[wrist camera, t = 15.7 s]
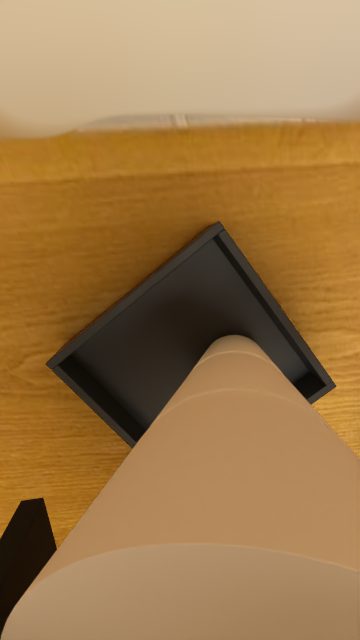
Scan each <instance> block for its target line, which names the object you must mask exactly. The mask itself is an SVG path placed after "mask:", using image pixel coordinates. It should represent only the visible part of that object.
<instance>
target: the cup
mask: <svg viewBox="0 0 360 640" xmlns="http://www.w3.org/2000/svg"><path fill="white" fill-rule="evenodd" d="M1 640H360V459H359V458H358V456H357V455H356V454H355V453H354V452H353V451H352V450H351V449H350V447H349V446H348V445H347V444H346V443H345V442H344V441H343V440H342V439H341V438H340V437H339V436H338V435H337V433H336V432H335V431H334V430H333V429H332V428H331V427H330V426H329V424H328V423H327V422H326V421H325V420H324V419H323V418H322V417H321V416H320V414H319V413H318V412H317V411H316V410H315V409H314V408H313V407H312V406H311V405H310V403H309V402H308V401H307V400H306V399H305V398H304V397H303V396H302V395H301V393H300V392H299V391H298V390H297V389H296V388H295V387H294V386H293V385H292V383H291V382H290V381H289V380H288V379H287V378H286V377H285V376H284V375H283V373H282V372H281V371H280V370H279V368H278V367H277V366H276V365H275V364H274V363H273V362H272V360H271V359H270V358H269V357H268V356H267V355H266V354H265V352H264V351H263V350H262V349H261V348H260V347H259V346H258V345H257V344H256V343H255V342H254V341H253V340H251V339H249V338H247V337H244V336H240V335H228V336H224V337H221V338H219V339H217V340H216V341H215V342H213V343H212V344H211V345H210V347H209V348H208V349H207V351H206V352H205V353H204V355H203V356H202V357H201V359H200V360H199V361H198V363H197V364H196V365H195V367H194V368H193V370H192V371H191V372H190V374H189V376H188V377H187V378H186V379H185V381H184V382H183V383H182V385H181V386H180V387H179V389H178V390H177V391H176V393H175V394H174V395H173V397H172V398H171V399H170V400H169V402H168V403H167V404H166V406H165V407H164V408H163V410H162V411H161V412H160V414H159V415H158V416H157V418H156V419H155V420H154V422H153V423H152V424H151V426H150V427H149V429H148V430H147V431H146V432H145V433H144V435H143V436H142V437H141V438H140V440H139V441H138V442H137V444H136V445H135V446H134V448H133V449H132V450H131V452H130V453H129V454H128V456H127V457H126V458H125V460H124V461H123V462H122V464H121V465H120V466H119V468H118V469H117V470H116V472H115V473H114V474H113V476H112V477H111V478H110V480H109V481H108V482H107V484H106V485H105V486H104V488H103V489H102V490H101V492H100V493H99V494H98V496H97V497H96V498H95V500H94V501H93V502H92V504H91V505H90V506H89V508H88V509H87V510H86V512H85V513H84V514H83V516H82V517H81V518H80V520H79V521H78V522H77V524H76V525H75V526H74V528H73V529H72V530H71V532H70V533H69V534H68V536H67V537H66V538H65V540H64V541H63V542H62V544H61V545H60V546H59V548H58V549H57V550H56V552H55V553H54V554H53V556H52V557H51V558H50V560H49V561H48V562H47V564H46V565H45V566H44V568H43V569H42V570H41V572H40V573H39V574H38V576H37V577H36V578H35V580H34V581H33V582H32V584H31V585H30V586H29V588H28V589H27V590H26V592H25V593H24V594H23V596H22V597H21V599H20V600H19V601H18V603H17V604H16V605H15V607H14V609H13V610H12V612H11V614H10V615H9V617H8V619H7V621H6V623H5V626H4V629H3V632H2V634H1Z"/></svg>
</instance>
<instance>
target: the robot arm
mask: <svg viewBox="0 0 360 640" xmlns="http://www.w3.org/2000/svg"><path fill="white" fill-rule="evenodd" d="M56 550H57V547H56V544H55V540H54V536H53V532H52V529H51V525H50V521H49V517H48V514H47V510H46V506H45V503H44V499H43V498H38V499H31V500H24V501H21V502H20V504H19V506H18V508H17V510H16V511H15V513H14V515H13V517H12V519H11V521H10V522H9V524H8V526H7V528H6V530H5V531H4V533H3V535H2V537H1V539H0V640H1V634H2V632H3V629H4V626H5V623H6V621H7V619H8V617H9V615H10V614H11V612H12V610H13V609H14V607H15V605H16V604H17V603H18V601H19V600H20V599H21V597H22V596H23V594H24V593H25V592H26V590H27V589H28V588H29V586H30V585H31V584H32V582H33V581H34V580H35V578H36V577H37V576H38V574H39V573H40V572H41V570H42V569H43V568H44V566H45V565H46V564H47V562H48V561H49V560H50V558H51V557H52V556H53V554H54V553H55V552H56Z"/></svg>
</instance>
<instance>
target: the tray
mask: <svg viewBox="0 0 360 640" xmlns="http://www.w3.org/2000/svg"><path fill="white" fill-rule="evenodd" d="M228 335H240V336H244V337H247V338H249V339H251V340H253V341H254V342H255V343H256V344H257V345H258V346H259V347H260V348H261V349H262V350H263V351H264V352H265V354H266V355H267V356H268V357H269V358H270V359H271V360H272V362H273V363H274V364H275V365H276V366H277V367H278V368H279V370H280V371H281V372H282V373H283V375H284V376H285V377H286V378H287V379H288V380H289V381H290V382H291V383H292V385H293V386H294V387H295V388H296V389H297V390H298V391H299V392H300V393H301V395H302V396H303V397H304V398H305V399H306V400H307V401H308V402H309V403H310V405H311V404H312V403H314V402H315V401H317V400H318V399H319V398H321V397H322V396H324V395H325V394H327V393H328V392H329V391H331V390H332V389H334V388H335V387H336V385H335V383H334V382H333V381H332V379H331V378H330V376H329V375H328V373H327V372H326V371H325V369H324V368H323V366H322V365H321V364H320V362H319V361H318V359H317V358H316V357H315V355H314V354H313V352H312V351H311V349H310V348H309V347H308V345H307V344H306V342H305V341H304V340H303V338H302V337H301V335H300V334H299V333H298V331H297V330H296V328H295V327H294V325H293V324H292V323H291V321H290V320H289V318H288V317H287V316H286V314H285V313H284V311H283V310H282V309H281V307H280V306H279V304H278V303H277V301H276V300H275V299H274V297H273V296H272V294H271V293H270V292H269V290H268V289H267V287H266V286H265V285H264V283H263V282H262V280H261V279H260V278H259V276H258V275H257V273H256V272H255V270H254V269H253V268H252V266H251V265H250V263H249V262H248V261H247V259H246V258H245V256H244V255H243V254H242V252H241V251H240V249H239V248H238V246H237V245H236V244H235V242H234V241H233V239H232V238H231V237H230V235H229V234H228V232H227V231H226V230H225V229H224V227H223V225H222V224H221V223H220V222H217V223H214V224H212V225H210V226H209V227H208V228H206V229H205V230H204V231H203V232H201V233H200V234H199V235H198V236H197V237H195V238H194V239H193V240H192V241H191V242H189V243H188V244H187V245H186V246H184V247H183V248H182V249H181V250H180V251H178V252H177V253H176V254H175V255H174V256H172V257H171V258H170V259H169V260H167V261H166V262H165V263H164V264H163V265H161V266H160V267H159V268H158V269H156V270H155V271H154V272H153V273H152V274H150V275H149V276H148V277H147V278H146V279H144V280H143V281H142V282H141V283H139V284H138V285H137V286H136V287H135V288H133V289H132V290H131V291H130V292H129V293H127V294H126V295H125V296H124V297H122V298H121V299H120V300H119V301H118V302H116V303H115V304H114V305H113V306H111V307H110V308H109V309H108V310H107V311H105V312H104V313H103V314H102V315H101V316H99V317H98V318H97V319H96V320H94V321H93V322H92V323H91V324H90V325H88V326H87V327H86V328H85V329H83V330H82V331H81V332H80V333H79V334H77V335H76V336H75V337H74V338H73V339H71V340H70V341H69V342H68V343H66V344H65V345H64V346H63V347H62V348H61V349H60V350H59V351H58V352H57V353H56V354H55V355H54V356H53V357H52V358H51V359H50V360H49V361H48V362H47V363H46V365H47V366H48V367H49V368H50V369H52V371H53V372H54V373H55V374H56V375H57V376H58V377H59V378H60V379H61V380H62V381H64V382H65V383H66V384H67V385H68V386H69V387H70V388H71V389H72V390H73V391H74V392H75V393H76V394H77V395H78V396H79V397H80V398H81V399H82V400H83V401H84V402H85V403H86V404H87V405H88V406H89V407H90V408H91V409H92V410H93V411H94V412H95V413H96V414H97V415H99V416H100V417H101V418H102V419H103V420H104V421H105V422H106V423H107V424H108V425H109V426H110V427H111V428H112V429H113V430H114V431H115V432H116V433H117V434H118V435H119V436H120V437H121V438H122V439H123V440H124V441H125V442H126V443H127V444H128V445H129V446H130V447H131V448H134V446H135V445H136V444H137V442H138V441H139V440H140V438H141V437H142V436H143V435H144V433H145V432H146V431H147V430H148V429H149V427H150V426H151V424H152V423H153V422H154V420H155V419H156V418H157V416H158V415H159V414H160V412H161V411H162V410H163V408H164V407H165V406H166V404H167V403H168V402H169V400H170V399H171V398H172V397H173V395H174V394H175V393H176V391H177V390H178V389H179V387H180V386H181V385H182V383H183V382H184V381H185V379H186V378H187V377H188V376H189V374H190V372H191V371H192V370H193V368H194V367H195V365H196V364H197V363H198V361H199V360H200V359H201V357H202V356H203V355H204V353H205V352H206V351H207V349H208V348H209V347H210V345H211V344H212V343H213V342H215V341H216V340H217V339H219V338H221V337H224V336H228Z"/></svg>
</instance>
